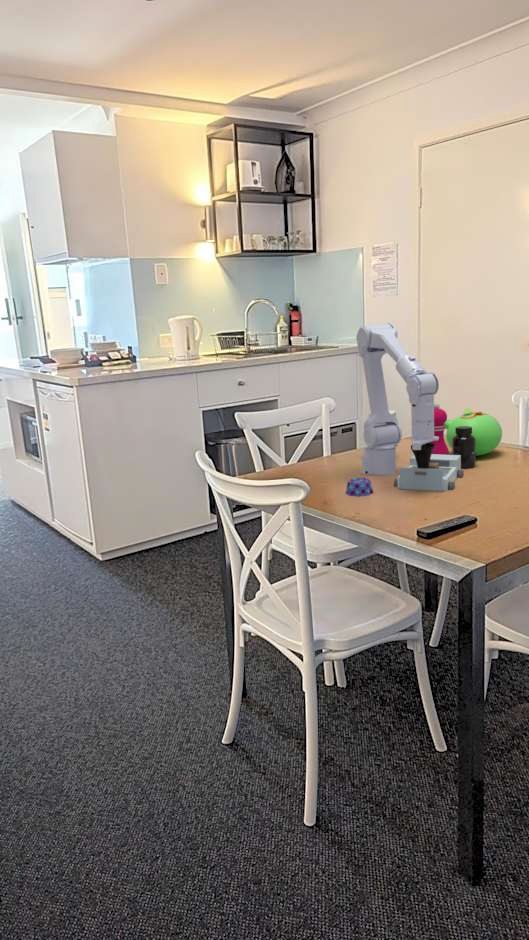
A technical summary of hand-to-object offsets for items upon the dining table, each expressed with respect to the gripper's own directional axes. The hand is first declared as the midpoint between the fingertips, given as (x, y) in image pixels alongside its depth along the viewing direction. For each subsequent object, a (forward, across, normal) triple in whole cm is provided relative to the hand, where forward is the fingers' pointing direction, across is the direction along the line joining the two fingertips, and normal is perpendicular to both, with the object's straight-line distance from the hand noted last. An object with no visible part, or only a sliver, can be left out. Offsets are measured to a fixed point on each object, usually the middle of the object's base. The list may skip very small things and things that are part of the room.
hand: (423, 470), depth 177 cm
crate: (+4, +8, 0) cm, 9 cm away
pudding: (+7, -8, +15) cm, 18 cm away
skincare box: (+6, +37, +22) cm, 43 cm away
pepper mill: (+6, +26, +2) cm, 27 cm away
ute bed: (+6, +8, 0) cm, 10 cm away
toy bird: (+6, +46, -5) cm, 46 cm away
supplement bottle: (+6, +31, -5) cm, 32 cm away
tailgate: (+2, -3, 0) cm, 4 cm away
